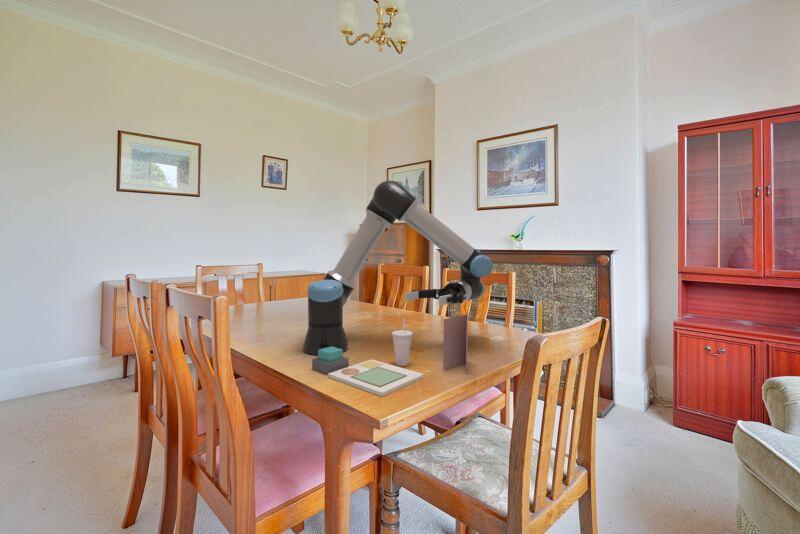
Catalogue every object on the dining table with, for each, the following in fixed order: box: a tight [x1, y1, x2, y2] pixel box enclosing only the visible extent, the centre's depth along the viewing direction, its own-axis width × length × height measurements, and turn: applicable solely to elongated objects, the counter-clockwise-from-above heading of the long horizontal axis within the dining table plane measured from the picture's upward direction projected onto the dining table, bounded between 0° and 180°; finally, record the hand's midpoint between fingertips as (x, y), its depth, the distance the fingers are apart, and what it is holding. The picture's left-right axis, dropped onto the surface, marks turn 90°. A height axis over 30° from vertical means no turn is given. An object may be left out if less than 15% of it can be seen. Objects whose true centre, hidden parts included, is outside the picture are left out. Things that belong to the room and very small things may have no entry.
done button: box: [317, 346, 344, 363], centre depth 109 cm, size 5×5×3 cm
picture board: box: [327, 358, 425, 398], centre depth 102 cm, size 20×17×1 cm
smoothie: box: [391, 318, 413, 367], centre depth 113 cm, size 6×6×14 cm
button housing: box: [311, 356, 350, 375], centre depth 109 cm, size 7×7×3 cm
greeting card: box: [442, 313, 469, 371], centre depth 110 cm, size 11×7×15 cm, turn 133°
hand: (422, 299), depth 120 cm, fingers open, 13 cm apart
